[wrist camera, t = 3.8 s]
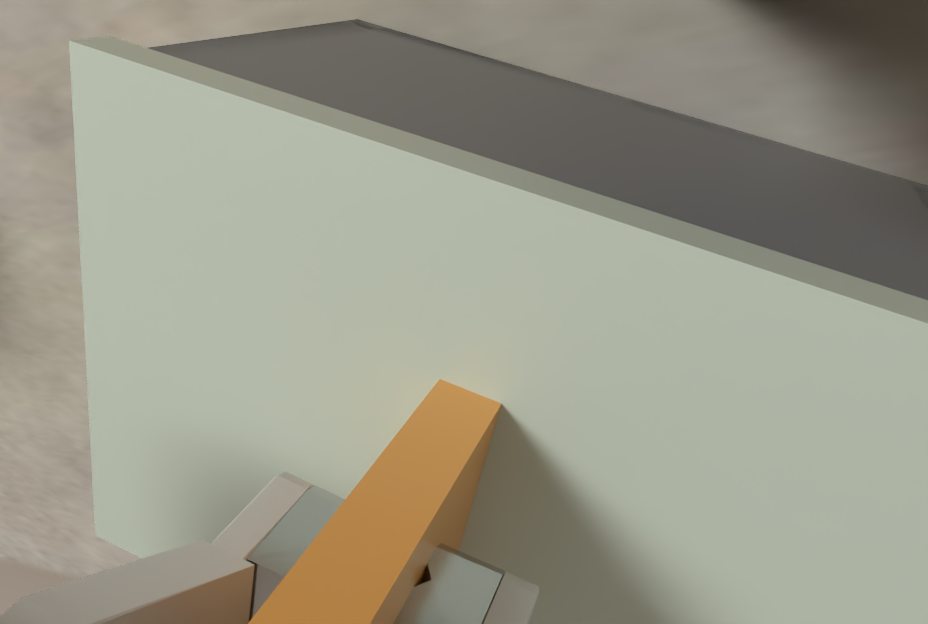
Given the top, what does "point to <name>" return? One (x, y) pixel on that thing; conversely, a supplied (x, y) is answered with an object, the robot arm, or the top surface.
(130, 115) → the white lid
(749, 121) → the top surface
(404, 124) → the parts tub
